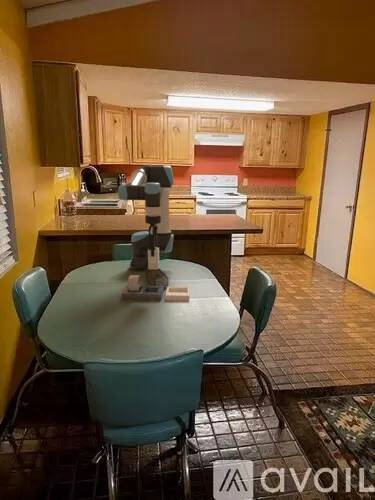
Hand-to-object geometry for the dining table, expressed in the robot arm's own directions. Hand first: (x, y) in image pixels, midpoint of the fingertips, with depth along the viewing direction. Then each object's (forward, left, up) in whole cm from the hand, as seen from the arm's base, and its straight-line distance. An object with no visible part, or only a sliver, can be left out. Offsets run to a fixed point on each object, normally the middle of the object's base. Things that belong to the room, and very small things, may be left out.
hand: (153, 260), depth 171 cm
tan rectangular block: (0, 0, -4) cm, 4 cm away
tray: (0, +12, -19) cm, 22 cm away
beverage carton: (-19, -1, -19) cm, 27 cm away
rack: (0, -6, -19) cm, 20 cm away
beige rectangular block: (0, -10, -19) cm, 21 cm away
